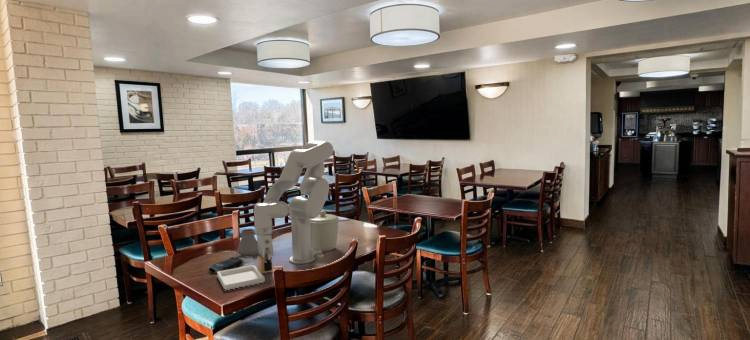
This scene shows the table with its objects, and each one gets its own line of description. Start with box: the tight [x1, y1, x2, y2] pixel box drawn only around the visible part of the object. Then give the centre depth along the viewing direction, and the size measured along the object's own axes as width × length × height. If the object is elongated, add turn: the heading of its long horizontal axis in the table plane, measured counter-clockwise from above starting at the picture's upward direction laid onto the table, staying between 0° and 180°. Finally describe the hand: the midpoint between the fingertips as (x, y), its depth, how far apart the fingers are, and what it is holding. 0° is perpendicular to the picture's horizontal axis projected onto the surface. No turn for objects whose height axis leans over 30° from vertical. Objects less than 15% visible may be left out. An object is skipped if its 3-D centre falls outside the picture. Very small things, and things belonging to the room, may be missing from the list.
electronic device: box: [208, 256, 245, 274], centre depth 189 cm, size 9×6×15 cm
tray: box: [216, 264, 266, 292], centre depth 173 cm, size 16×18×2 cm
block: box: [257, 255, 273, 275], centre depth 183 cm, size 5×5×7 cm
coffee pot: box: [236, 221, 274, 258], centre depth 212 cm, size 21×12×15 cm, turn 143°
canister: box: [310, 209, 341, 253], centre depth 215 cm, size 18×18×21 cm
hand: (265, 267), depth 184 cm, fingers open, 9 cm apart
